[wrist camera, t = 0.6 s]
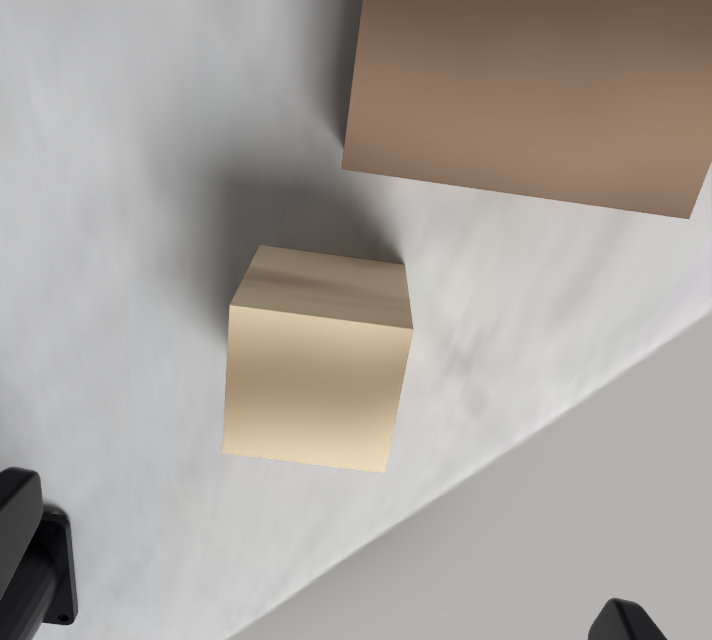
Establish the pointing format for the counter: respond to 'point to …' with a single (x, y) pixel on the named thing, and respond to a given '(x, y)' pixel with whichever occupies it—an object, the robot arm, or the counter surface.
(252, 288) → the maple cube
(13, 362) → the counter surface
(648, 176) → the walnut block
